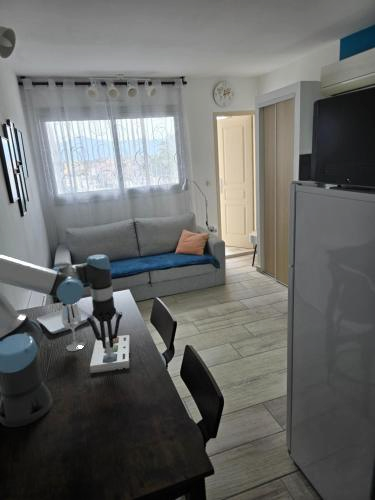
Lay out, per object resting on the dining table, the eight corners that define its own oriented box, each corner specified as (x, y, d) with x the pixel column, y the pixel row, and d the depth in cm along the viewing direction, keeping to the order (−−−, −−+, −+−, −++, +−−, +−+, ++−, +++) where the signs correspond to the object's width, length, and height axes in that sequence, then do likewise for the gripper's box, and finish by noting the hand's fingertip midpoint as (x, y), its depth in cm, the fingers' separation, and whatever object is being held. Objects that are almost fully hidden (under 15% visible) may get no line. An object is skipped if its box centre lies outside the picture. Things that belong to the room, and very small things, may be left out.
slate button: (116, 365, 122) (115, 358, 121) (104, 366, 122) (103, 360, 121) (116, 358, 126) (115, 352, 126) (105, 360, 126) (104, 353, 125)
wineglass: (77, 352, 134) (70, 308, 129) (62, 350, 137) (54, 306, 132) (88, 343, 141) (82, 300, 136) (73, 340, 144) (67, 298, 139)
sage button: (117, 355, 128) (116, 349, 128) (105, 357, 128) (104, 350, 127) (117, 349, 133) (116, 343, 132) (106, 351, 132) (105, 344, 131)
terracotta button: (117, 346, 135) (117, 340, 134) (107, 348, 134) (106, 342, 133) (118, 341, 139) (117, 335, 138) (107, 342, 138) (107, 336, 138)
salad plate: (36, 324, 163) (35, 317, 162) (77, 310, 176) (76, 304, 175) (52, 338, 147) (50, 331, 146) (95, 322, 161) (94, 316, 160)
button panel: (129, 367, 122) (128, 360, 121) (90, 373, 120) (89, 365, 119) (129, 341, 141) (129, 334, 140) (96, 345, 139) (96, 338, 138)
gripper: (121, 291, 122) (126, 347, 128) (85, 295, 120) (92, 352, 126) (120, 299, 115) (126, 358, 120) (82, 303, 113) (90, 363, 119)
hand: (109, 355), depth 123 cm, fingers closed
